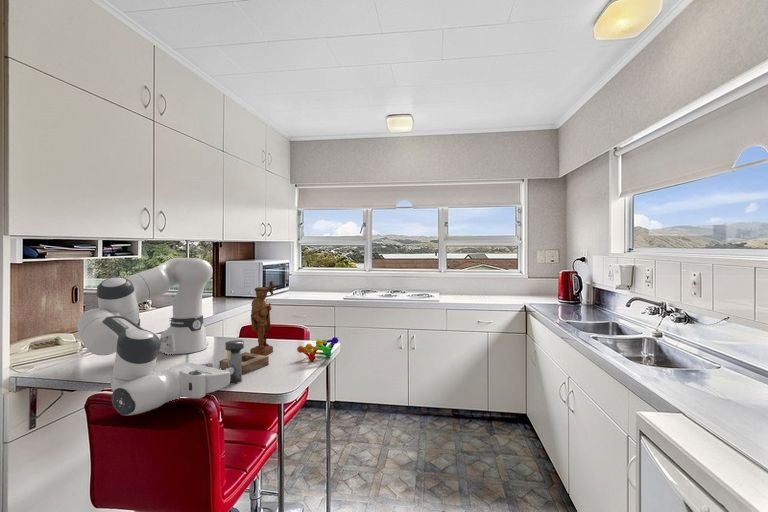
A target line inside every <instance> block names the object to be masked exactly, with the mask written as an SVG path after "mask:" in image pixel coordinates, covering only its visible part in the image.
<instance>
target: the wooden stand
mask: <svg viewBox="0 0 768 512" xmlns="http://www.w3.org/2000/svg"><path fill="white" fill-rule="evenodd" d="M218 362H219V363H218V364H219V369H220V368H221V370H222V369H225V370H226V368H228V367H229V366H228V359H227V357H226V358H224V359H223V358H222V359H221V360H219V361H218ZM241 362H242V375H245V374H248V373H250V371H251V372H253V371H256V370H258V369H261V368H263V367H265V365H266V366H269V365H270V364H269V362H270V359H269V356H268V355H267V356H263V355H258V354H253V353H250V352H248V351H247V352H241ZM268 364H269V365H268ZM262 366H263V367H262ZM260 367H261V368H260ZM257 368H258V369H257ZM255 369H256V370H255ZM252 370H253V371H252ZM247 372H248V373H247ZM244 373H245V374H244Z"/></svg>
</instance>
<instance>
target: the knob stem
mask: <svg viewBox="0 0 768 512" xmlns="http://www.w3.org/2000/svg"><path fill="white" fill-rule="evenodd" d="M244 347H245V341H244V340H241V339H237V340H236V339H235V340H228V341H226V342H225V350H226V352H227V355H226V358H227V359H228V366H229V367H231V368H234V372H233V374H230V383H229V384H231V383H236V384H238V383H237V382H240V383H241V382H243V374H242V362H241V354H242V350H243V349H244Z"/></svg>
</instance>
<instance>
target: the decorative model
mask: <svg viewBox="0 0 768 512" xmlns="http://www.w3.org/2000/svg"><path fill="white" fill-rule="evenodd" d="M338 343H339V338H338V337H337V336H334V337H332V338H331V339H326V340H325V339H316V340H315V346H314V345H313V344H311V343H307V344H306V345H305V346H303V345H299V346H298V347H297V348H296V351H297V353H299V354H301V353H303V354H304V355H306V356H307V357H308V360H309V362H314V361H315V360H316V355H317V356H318V355H319V356H320V355H321V356H325V358H330V357H331V356H332V350H333V348H334V346H335V345H337V344H338Z"/></svg>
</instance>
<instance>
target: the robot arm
mask: <svg viewBox="0 0 768 512" xmlns="http://www.w3.org/2000/svg"><path fill="white" fill-rule="evenodd" d="M213 273H214V272H213V267H212V265H211V263H210V262H208V261H207V260H205V259H202V258H199V257H198V258H197V257H174V258H170V259H167V260H165V261H164V262H163V263H160V264H158V265H157V266H155V267H152V268H149V269H146V270H143V271H140V272H137V273H134V274H131V275H129V276H127V277H126V276H125V277H122V276H116V277H115V276H114V277H110V278H107V279H104V280H103V281H101V282H100V283H99V284H98V285H97V288H96V297H97V304H98V307H96V308H95V307H94V308H90V309H88V310H86V311H84V312H83V313H82V314H80V316H78V319H77V323H76V329H77V333H78V336H79V339H80V341H81V342H82V344H83V346H84V347H85V348H86V350H88V352H90V353H91V354H93V355H96V356H109V355H113V354H115V358H114V363H113V367H112V368H113V369H112V374H111V380H110V390H111V392H112V394H111V403H112V404H111V405H112V406H113V409H114V410H115V411H116V413H118V414H120V415H121V416H133V415H134V416H135V415H140V414H143V413H146V412H149V411H152V410H155V409H157V408H159V407H161V406H163V405H164V404H167V403H170V402H169V401H172V400H175V399H177V398H180V397H189V398H188V399H201V398H203V397H205V396H206V394H209V393H213V392H217V391H218V390H221V389H223V388H224V387H227V386H228V385H230V384H231V383H230V374H233V372H234V368H231V367H228V368H226V370H222V369H220V368H215V367H213V366H214V365H213V363H212V362H206V363H194V362H189V361H188V362H187V361H186V362H181V363H178V364H175V365H173V366H170V367H169V368H167V369H164V370H162V371H161V372H159V373H158V372H156V365H157V360H158V355H159V353H162V354H164V353H165V354H164V355H166V354H167V355H166V356H169V354H170V355H171V354H172V355H179V354H180V355H181V354H191V353H197V352H200V351H203V350H205V349H208V345H209V341H207V334H206V327H205V326H204V315H203V294H204V290H205V287H206V286H207V283H208V282H209V281H210V280H211V279H212V277H213ZM175 286H178V288H177V292H176V294H175V295H174V297H173V298H172V317H169V322H170V324H169V327H167V329H165V330H164V331H163V332H162V333H161V334H160V336H157V335H156V334H155V333H154V332H152V331H150V330H147V329H144V328H143V327H141V318H140V308H139V307H140V306H139V304H142V303H145V302H147V301H149V300H152V299H155V298H157V297H159V296H162V295H165V294H167V293H169V291H170V289H172V288H174V287H175ZM159 337H160V338H159ZM172 355H171V356H172ZM172 402H173V401H172Z"/></svg>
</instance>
